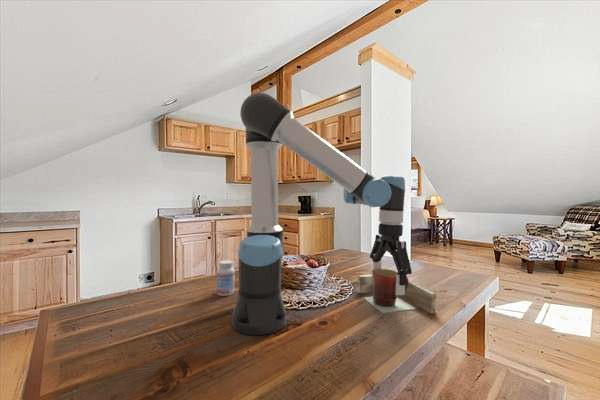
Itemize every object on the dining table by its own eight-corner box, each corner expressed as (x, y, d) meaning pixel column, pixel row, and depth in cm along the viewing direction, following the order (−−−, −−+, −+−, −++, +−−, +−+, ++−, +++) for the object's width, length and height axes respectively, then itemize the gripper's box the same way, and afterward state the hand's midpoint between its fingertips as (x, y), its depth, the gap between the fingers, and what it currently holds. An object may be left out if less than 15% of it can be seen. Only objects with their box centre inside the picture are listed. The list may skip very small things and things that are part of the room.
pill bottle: (213, 295, 96) (213, 263, 96) (222, 289, 102) (222, 259, 102) (229, 297, 95) (229, 264, 95) (237, 291, 101) (237, 260, 100)
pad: (382, 313, 85) (382, 312, 85) (363, 298, 96) (363, 297, 96) (415, 309, 88) (415, 308, 88) (393, 295, 100) (393, 294, 100)
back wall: (431, 313, 85) (431, 294, 85) (391, 289, 106) (391, 273, 105) (435, 312, 86) (435, 293, 86) (394, 289, 106) (395, 273, 106)
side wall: (359, 293, 101) (360, 276, 101) (357, 291, 102) (358, 275, 102) (393, 290, 105) (393, 274, 104) (391, 288, 106) (391, 273, 106)
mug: (374, 308, 87) (375, 276, 87) (367, 297, 96) (368, 268, 96) (412, 309, 87) (413, 277, 87) (402, 298, 96) (403, 269, 96)
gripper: (427, 228, 80) (423, 301, 81) (380, 219, 104) (377, 275, 105) (404, 228, 78) (400, 303, 79) (362, 218, 102) (359, 275, 103)
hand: (387, 287), depth 92 cm, fingers open, 13 cm apart
